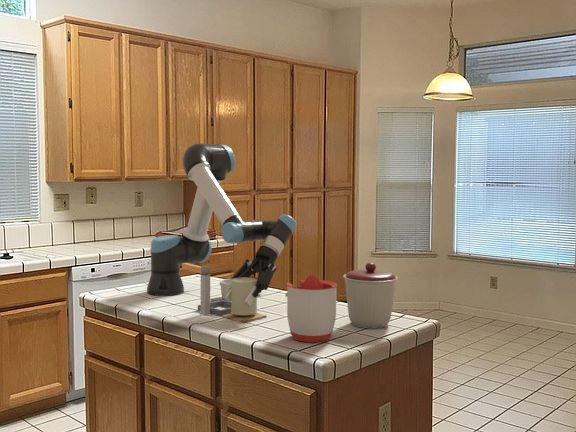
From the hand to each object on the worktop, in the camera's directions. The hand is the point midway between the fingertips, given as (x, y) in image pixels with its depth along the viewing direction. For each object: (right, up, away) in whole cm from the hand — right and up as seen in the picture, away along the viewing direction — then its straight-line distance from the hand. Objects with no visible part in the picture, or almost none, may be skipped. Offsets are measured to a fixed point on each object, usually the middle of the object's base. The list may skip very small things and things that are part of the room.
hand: (237, 301), depth 212 cm
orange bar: (-16, +9, +11) cm, 22 cm away
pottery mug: (+3, -3, +44) cm, 44 cm away
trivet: (+2, -6, +3) cm, 7 cm away
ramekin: (-3, -4, +35) cm, 35 cm away
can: (+2, -4, +3) cm, 6 cm away
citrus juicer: (+24, -8, -21) cm, 33 cm away
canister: (+45, -7, -5) cm, 46 cm away
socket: (-8, -5, +12) cm, 15 cm away
